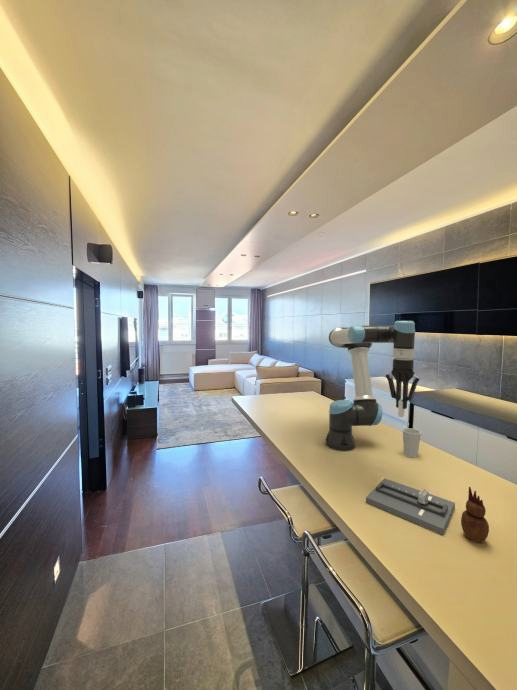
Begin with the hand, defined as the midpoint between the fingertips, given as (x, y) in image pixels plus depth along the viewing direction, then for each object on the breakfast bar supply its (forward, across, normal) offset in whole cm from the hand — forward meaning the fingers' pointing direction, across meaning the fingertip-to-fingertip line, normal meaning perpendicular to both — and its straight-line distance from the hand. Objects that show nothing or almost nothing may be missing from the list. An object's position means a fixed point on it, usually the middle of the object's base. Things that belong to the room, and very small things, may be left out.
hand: (401, 415), depth 121 cm
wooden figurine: (+27, +28, -21) cm, 44 cm away
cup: (+27, -3, +27) cm, 38 cm away
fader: (+24, +13, -17) cm, 32 cm away
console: (+26, +9, -17) cm, 33 cm away
